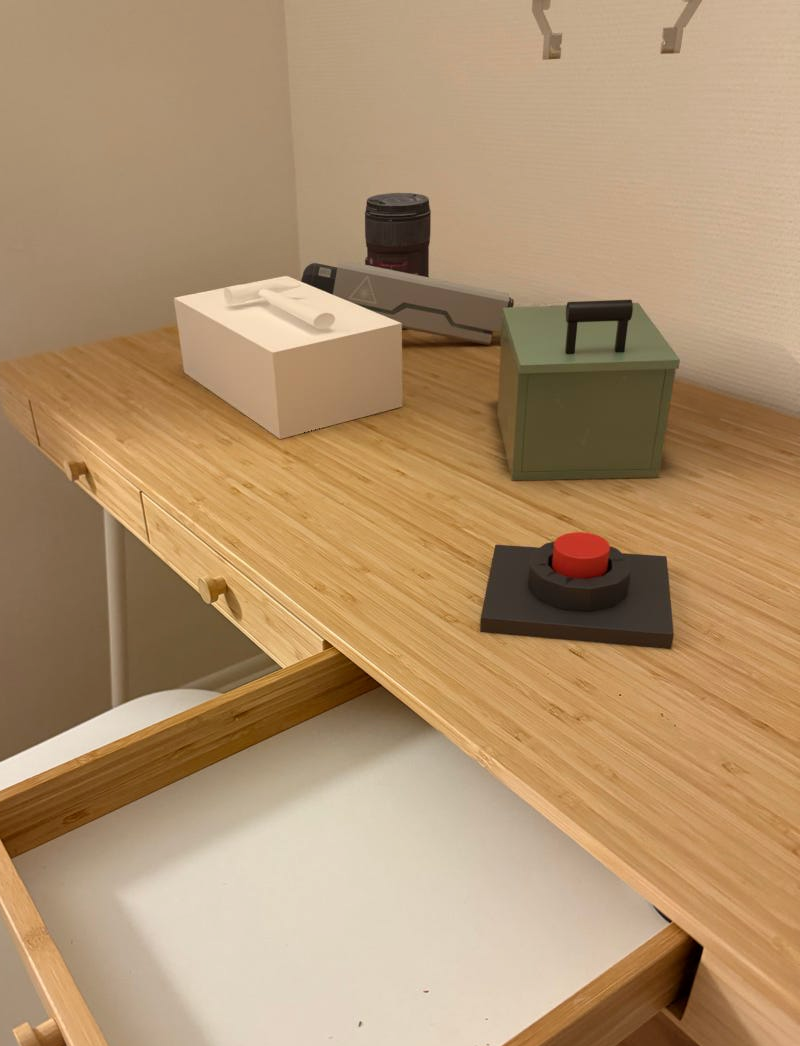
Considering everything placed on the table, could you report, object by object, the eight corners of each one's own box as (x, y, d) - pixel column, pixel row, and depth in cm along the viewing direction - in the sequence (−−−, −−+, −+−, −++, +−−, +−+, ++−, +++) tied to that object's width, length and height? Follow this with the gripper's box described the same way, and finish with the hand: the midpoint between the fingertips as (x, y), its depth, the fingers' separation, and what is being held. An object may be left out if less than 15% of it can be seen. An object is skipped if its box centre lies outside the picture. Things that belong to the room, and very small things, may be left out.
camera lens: (385, 335, 120) (383, 207, 112) (357, 320, 126) (352, 197, 118) (441, 324, 123) (443, 198, 114) (410, 310, 129) (410, 189, 121)
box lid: (678, 369, 77) (688, 306, 74) (519, 374, 78) (523, 312, 75) (637, 311, 90) (644, 256, 87) (502, 315, 91) (504, 262, 88)
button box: (662, 582, 69) (670, 533, 66) (668, 662, 61) (678, 610, 59) (493, 569, 72) (496, 522, 69) (479, 645, 64) (481, 594, 61)
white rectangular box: (291, 348, 118) (285, 255, 112) (402, 406, 100) (401, 299, 94) (184, 372, 113) (170, 276, 107) (280, 439, 95) (270, 327, 88)
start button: (607, 556, 65) (610, 533, 64) (606, 583, 62) (610, 560, 61) (553, 552, 66) (555, 530, 65) (550, 579, 63) (552, 556, 62)
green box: (658, 477, 83) (676, 366, 77) (511, 480, 84) (518, 371, 78) (624, 411, 96) (637, 311, 90) (497, 414, 97) (502, 316, 91)
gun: (293, 335, 118) (306, 252, 113) (491, 375, 119) (514, 293, 113) (290, 341, 116) (304, 257, 110) (492, 382, 117) (515, 299, 111)
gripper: (774, -170, 71) (739, 47, 79) (498, -144, 76) (490, 59, 84) (789, -180, 66) (749, 52, 74) (491, -152, 71) (484, 65, 79)
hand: (609, 56), depth 79 cm, fingers open, 8 cm apart
